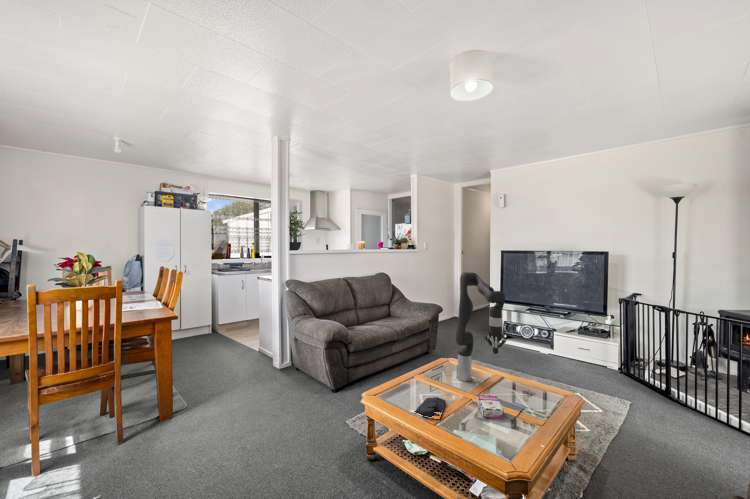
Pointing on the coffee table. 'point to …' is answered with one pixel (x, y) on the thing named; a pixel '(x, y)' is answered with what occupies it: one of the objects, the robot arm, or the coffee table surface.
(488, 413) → the candy bar box
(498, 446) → the coffee table surface
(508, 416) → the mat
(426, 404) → the dark slate chunk
